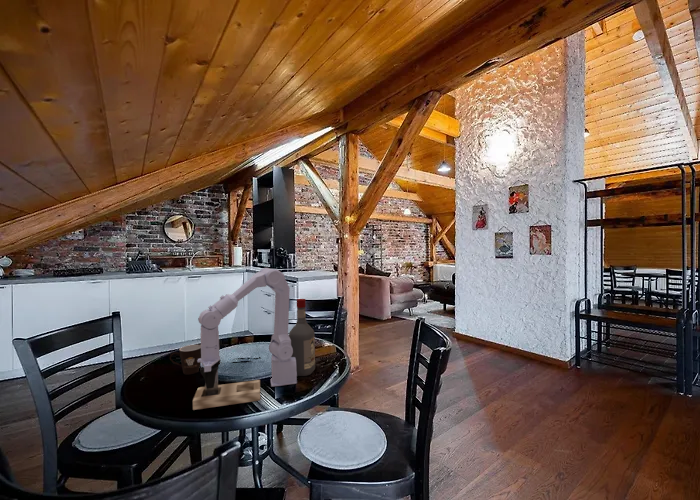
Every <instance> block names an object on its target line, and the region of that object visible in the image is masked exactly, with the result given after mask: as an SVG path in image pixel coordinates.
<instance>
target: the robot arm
mask: <svg viewBox="0 0 700 500" xmlns="http://www.w3.org/2000/svg"><path fill="white" fill-rule="evenodd" d="M267 286H268V287H269V288H270V289H271V290H272V291H273V292H274V293H275V294H274V295H275V298H274V300H275V301H274V322H273V323H274V325H273V330H274V331H273V334H272V335H271V340H270V343H269V346H268V351H269V353H270V354H271V358H270V359H271V361H270V363H271V365H270V366H271V377H272V378H271V377H270V378H271V379H270V387H281V386H287V385H295V384H298V380H297V379H298V378H297V377H298V376H297V371H296V358H295V357H291V356H292V354H293V348H292V346H291V339H290V337H289V319H290V317H289V316H290V313H289V312H290V293H291V292H290V291H291V290H290V286H289V284H288V282H287V280H286V278H285V274H284V273H283V272H282V271H280V270H279V269H276V268H269V267H264V268H262V269H260V270H259V271H257V272H255V273H254V274H253V275H252V276H251V277H250V278H249V279H248V280H247V281H245V282H244V283H243V284H242V285H240V287H239V288H237V289H236V290H235V291H234V292H232V293H231V294H229V293H228V294H224V295H223V294H222V295H221V296H220V297H219V300H218V301H216V302H215V303H214V304H212V305H209V306H208V307H207V308H208V309H205V310H203V311H201V312H200V314H199V316H198V319H197V321H198V323H199V324H200V345H201V358H199V359H198V360H197V362H201V365H202V366H203V367H202V366H201V367H200V371H199V372H200V374H201V375H202V377H203V379H204V385H205V384H206V387H207V389H208V388H214V384H215V376H216V372H217V370H218V371H219V366H220V365H221V364H220V363H221V361H222V360H220V359H221V356H220V338H219V336H220V334H219V333H220V332H219V325H220V324H221V320H223V319H224V318H225V317H227V315H229V314H230V313H231V312H232V311H234V310H236V308H237V307H238V306H239V305H238V304H239V301H241V300H242V299H243V298H245V297H246V296H248V294H250V293H252V292H253V291H254V290H256V288H265V287H267ZM212 366H217V367H212Z"/></svg>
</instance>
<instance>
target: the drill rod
mask: <svg viewBox="0 0 700 500" xmlns="http://www.w3.org/2000/svg"><path fill="white" fill-rule="evenodd" d="M212 367H217V366H212ZM218 371H219V369H218V370H217V372H216V376H215V384H214V388H208V389H207V387H206V384H205V383H204V387H205V396H211V395H218V385H219V373H218Z"/></svg>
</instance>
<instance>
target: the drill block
mask: <svg viewBox="0 0 700 500" xmlns="http://www.w3.org/2000/svg"><path fill="white" fill-rule="evenodd" d="M258 401H261V379H255V380H249V381H248V380H247V381H246V380H245V381H240V382H232V383H225V384H218V395H211V396H205V386H200V387H198V388H197V390H196V391H195V394H194V396H193V398H192V410H193V411H195V410H203V409H209V408H216V407H224V406H229V405H230V406H231V405H237V404H245V403H252V402H258Z"/></svg>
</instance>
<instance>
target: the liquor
mask: <svg viewBox="0 0 700 500" xmlns="http://www.w3.org/2000/svg"><path fill="white" fill-rule="evenodd" d="M306 307H307V305H306V298H298V299H296V316H297V317H296V323H295V324H294V325H293V327H292V328H291V329H290V330H289V332H288V335H289V337H290V339H291V346H292V348H293V354H292V356H291V357H295V358H296V371H297V377H298V376H299V377H307V376H311V374H312V373H313V372H314V371H315V369H316V348H315V347H316V344H315V343H316V342H315V341H316V340H315V337H316V336H315V329H313V328H312V326H311V325H310V324H308V322H307V319H306V314H307V313H306Z"/></svg>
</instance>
